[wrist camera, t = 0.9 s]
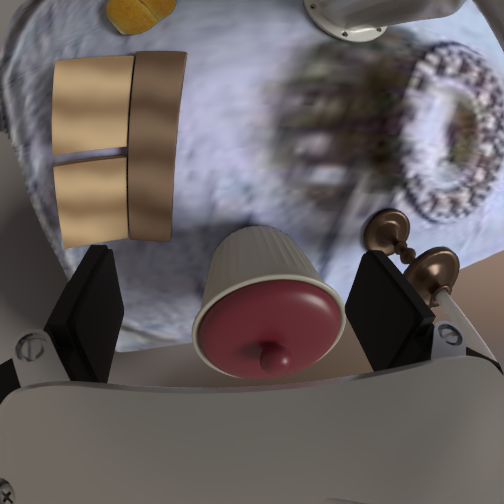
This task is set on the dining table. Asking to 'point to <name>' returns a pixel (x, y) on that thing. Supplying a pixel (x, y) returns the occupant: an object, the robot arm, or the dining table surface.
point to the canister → (265, 308)
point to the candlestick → (423, 270)
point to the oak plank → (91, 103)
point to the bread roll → (137, 14)
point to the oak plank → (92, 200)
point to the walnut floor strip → (154, 142)
